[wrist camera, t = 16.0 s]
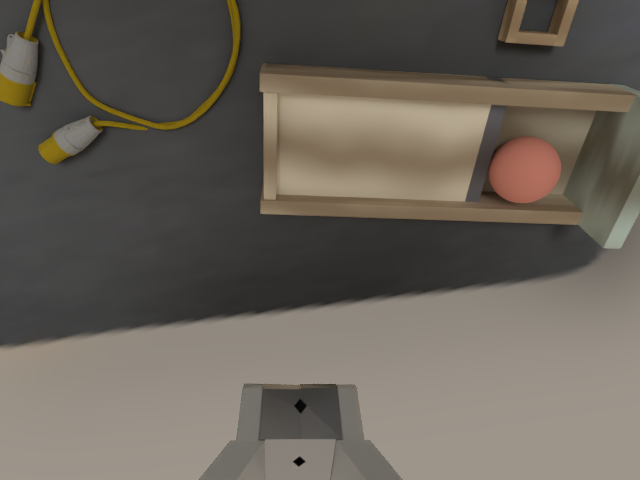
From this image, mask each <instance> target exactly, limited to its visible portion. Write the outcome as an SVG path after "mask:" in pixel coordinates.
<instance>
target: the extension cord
mask: <svg viewBox="0 0 640 480" xmlns="http://www.w3.org/2000/svg"><path fill="white" fill-rule="evenodd" d="M227 3H228V8H229V12H230V17H231V23H232V31H233V52H232V56H231V59H230V63H229V66H228V68H227V71H226V73H225V75H224V78H223V80H222V81H221V83H220V85H219V87H218V88H217V89H216V90H215V92H214V93H213V94H212V95H211V96H210V97H209V98H208V99H207V100H206V101H205V102H204V103H203V104H202V105H201V106H200V107H199V108H198V109H197V110H196V111H194V112H193V113H192V114H191V115H190V116H189V117H188V118H186V119H183V120H181V121H174V122H168V123H158V124H157V123H153V122H150V121H147V120H144V119H141V118H138V117H135V116H132V115H129V114H126V113H123V112H121V111H118V110H115V109H113V108H110V107H108V106H106V105H104V104H102V103H101V102H99V101H97V100H96V99H95V98H93V97H92V96H91V95H90V94H89V93H88V92H87V91H86V90H85V88H84V87H83V85H82V84H81V82H80V81H79V79H78V77H77V76H76V74H75V72H74V70H73V68H72V66H71V65H70V63H69V61H68V59H67V57H66V55H65V53H64V51H63V49H62V47H61V45H60V42H59V39H58V36H57V34H56V31H55V28H54V24H53V20H52V17H51V13H50V6H49V0H42V4H43V11H44V15H45V18H46V22H47V26H48V29H49V32H50V35H51V37H52V40H53V43H54V45H55V47H56V50H57V52H58V54H59V56H60V58H61V60H62V62H63V64H64V66H65V67H66V69H67V71H68V73H69V75H70V77H71V78H72V80H73V81H74V83H75V85H76V86H77V88H78V89H79V91H80V92H81V93H82V94H83V95H84V96H85V98H86V99H88V100H89V101H90V102H91V103H92V104H94V105H96V106H97V107H99V108H101V109H103V110H105V111H107V112H109V113H111V114H114V115H117V116H119V117H122V118H125V119H127V120H130V121H133V122H136V123H140V124H143V125H146V126H149V127H152V128H157V129H163V130H168V129H176V128H180V127H183V126H186V125H187V124H189V123H191V122H193V121H195V120H196V119H197V118H199V117H200V116H201V115H203V114H204V113H205V112H206V111H207V110H208V109H209V108H210V107H211V106H212V105H213V104H214V102H215V101H216V100H217V98H218V97H219V96H220V94H221V93H222V91H223V90H224V88H225V87H226V85H227V84H228V82H229V80H230V78H231V76H232V74H233V72H234V69H235V66H236V62H237V57H238V51H239V44H240V24H241V23H240V17H239V10H238V7H237V4H236V1H235V0H227ZM40 4H41V0H34V1H33V5H32V8H31V12H30V16H29V19H28V23H27V27H26V30H25V32H20V31H18V32H15V35H14V34H9V35H8V37H7V48H6V50H3V49H1V52H2V54H3V57H2V61H1V65H0V100H1V101H3V102H5V103H7V104H10V105H14V106H30V105H31V100H32V97H33V93H34V90H35V87H36V83H37V82H35V78H36V74H37V65H38V44H39V41H38V40H37V39H36V38H35V37H34V36H32V32H33V29H34V25H35V22H36V18H37V15H38V11H39V7H40ZM9 36H12V38H10V37H9ZM102 126H111V127H119V128H127V129H134V130H148V128H145V127H142V126H139V125H134V124H128V123H121V122H114V121H99V120H98V119H97V118H95V117H93V116H88V117H87V118H84V119H81V120H78V121H75V122H72V123H70V124H66V125H64V126H63V127H61V128H60V129H58V130H57V131H55V132H54V133H53V134H52V137H50V138H49V139H47V140H46V141H44V142H43V143H41V144H40V145H39V146H38V149H39V152H40V154H41V156H42V157H43V158H44V159H45V160H46V161H48V162H49V163H52V164H57V163H59V162H61V161H62V160H64V159H65V158H67V157H69V156H74V155H76V154H77V153H79V152H80V151H82V150H84V149H85V148H86V147H87V146H88V145H89V144H90V143H91V142H92V141H93V140H94V139H95V138H96V137H97V135H98V134H99V133H101V132H102V131H103V127H102Z"/></svg>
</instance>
